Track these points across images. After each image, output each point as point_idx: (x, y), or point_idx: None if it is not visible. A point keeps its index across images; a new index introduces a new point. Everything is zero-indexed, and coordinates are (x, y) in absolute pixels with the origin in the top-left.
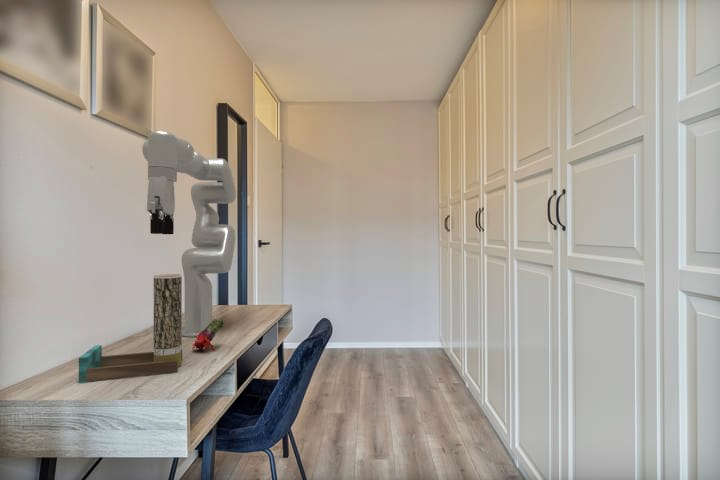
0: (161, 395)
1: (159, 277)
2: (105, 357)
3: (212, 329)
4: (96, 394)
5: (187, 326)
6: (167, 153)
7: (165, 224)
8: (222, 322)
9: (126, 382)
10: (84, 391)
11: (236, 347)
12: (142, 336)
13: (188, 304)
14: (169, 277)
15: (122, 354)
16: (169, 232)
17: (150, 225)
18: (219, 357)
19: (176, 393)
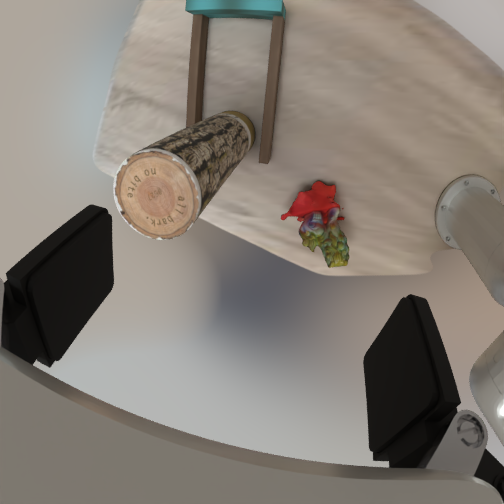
0: (109, 137)
1: (119, 172)
2: (272, 24)
3: (305, 236)
4: (139, 51)
5: (467, 195)
6: None
7: (406, 392)
8: (327, 264)
9: (174, 78)
10: (157, 30)
11: (308, 257)
12: (501, 103)
13: (489, 221)
14: (118, 202)
15: (278, 52)
16: (375, 350)
17: (48, 236)
18: (254, 221)
19: (110, 155)
